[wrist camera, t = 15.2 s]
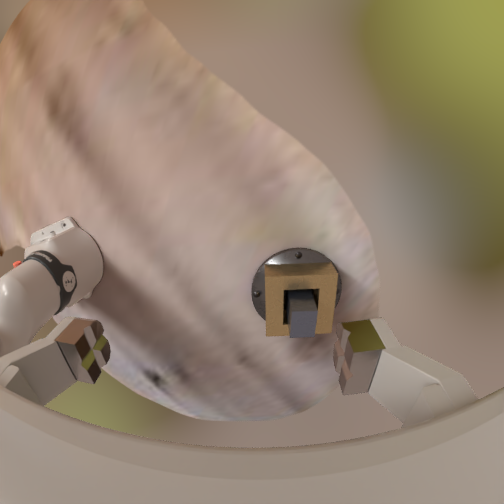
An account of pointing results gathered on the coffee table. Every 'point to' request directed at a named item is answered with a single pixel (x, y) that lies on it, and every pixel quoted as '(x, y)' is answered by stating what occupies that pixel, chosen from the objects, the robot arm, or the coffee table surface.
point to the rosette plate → (295, 287)
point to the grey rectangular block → (301, 313)
